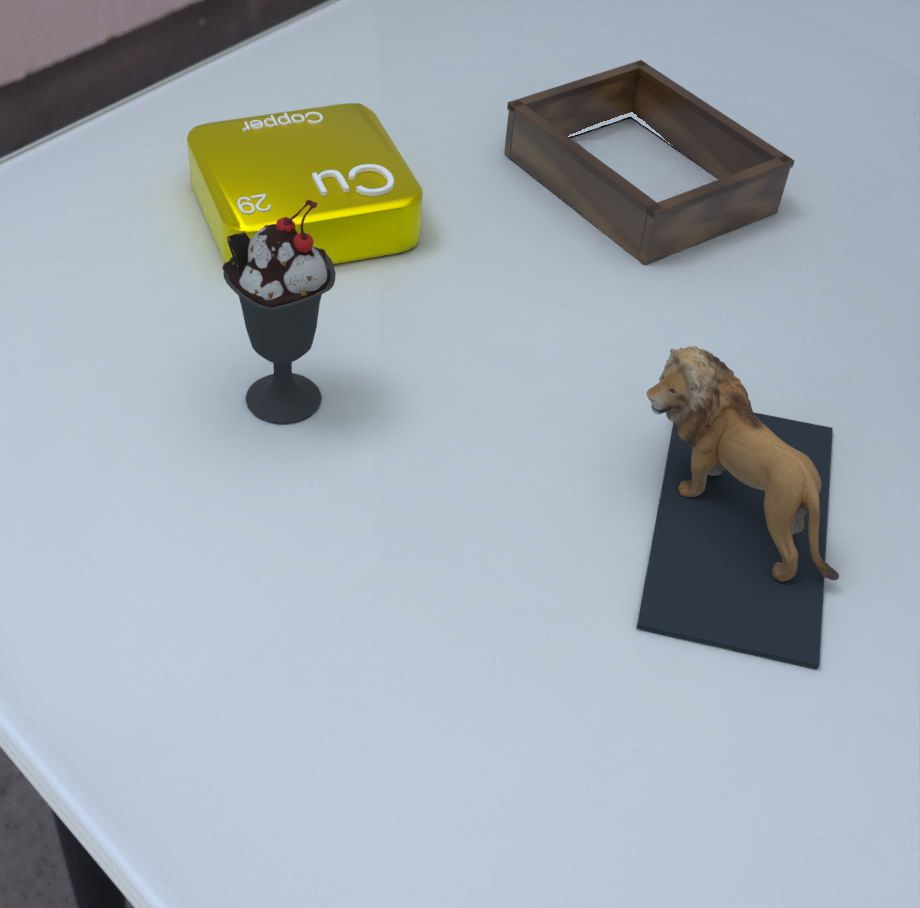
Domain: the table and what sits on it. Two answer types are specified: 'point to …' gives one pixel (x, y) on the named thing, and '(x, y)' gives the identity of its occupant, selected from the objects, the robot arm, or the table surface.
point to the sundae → (280, 311)
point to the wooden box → (613, 197)
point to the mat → (735, 560)
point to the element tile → (308, 180)
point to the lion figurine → (740, 450)
